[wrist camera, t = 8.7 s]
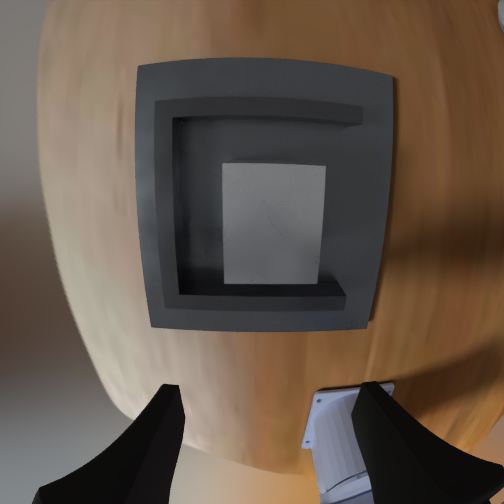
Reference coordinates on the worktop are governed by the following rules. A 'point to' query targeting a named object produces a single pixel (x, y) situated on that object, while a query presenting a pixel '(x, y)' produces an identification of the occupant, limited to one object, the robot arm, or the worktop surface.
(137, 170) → the cradle
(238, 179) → the block
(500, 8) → the can
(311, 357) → the worktop surface
